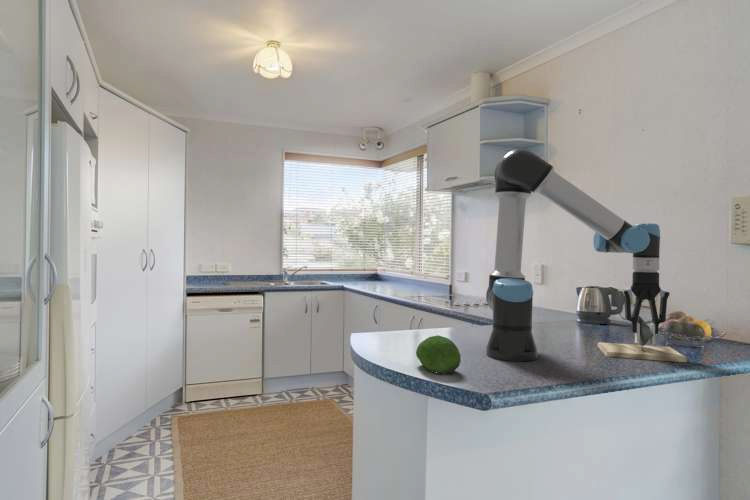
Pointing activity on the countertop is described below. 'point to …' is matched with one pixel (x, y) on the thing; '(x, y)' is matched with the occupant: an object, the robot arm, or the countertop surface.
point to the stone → (644, 332)
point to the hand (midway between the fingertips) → (644, 343)
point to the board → (641, 352)
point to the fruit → (439, 354)
